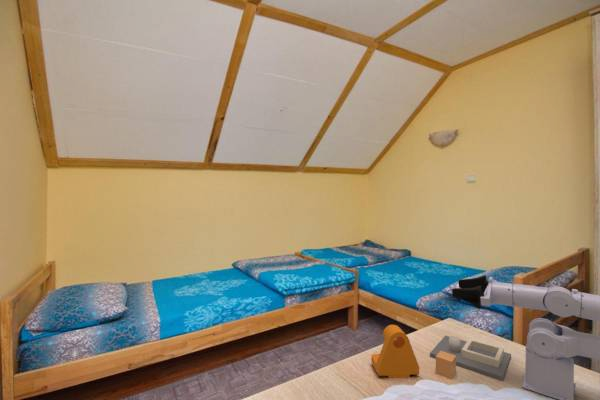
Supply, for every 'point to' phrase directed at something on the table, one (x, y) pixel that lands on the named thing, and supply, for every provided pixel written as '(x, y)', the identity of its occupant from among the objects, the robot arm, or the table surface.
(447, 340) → the board
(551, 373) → the robot arm
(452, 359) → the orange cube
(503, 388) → the table surface
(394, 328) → the bracket
